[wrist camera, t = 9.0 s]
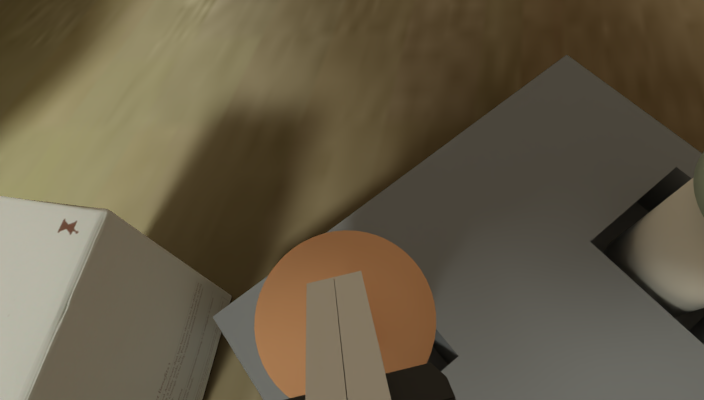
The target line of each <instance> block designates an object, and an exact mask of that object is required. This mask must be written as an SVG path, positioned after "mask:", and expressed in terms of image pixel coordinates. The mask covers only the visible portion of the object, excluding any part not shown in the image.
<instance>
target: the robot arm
mask: <svg viewBox="0 0 704 400" xmlns="http://www.w3.org/2000/svg"><path fill="white" fill-rule="evenodd" d="M334 280H335V281H334ZM285 400H456V398H455V395H454V393H453V391H452V388H451V386H450V383H449V381H448V379H447V377H446V376H445V375H444V374H443V373H442V372H441V371H439V370H438V369H437V368H436V367H435V366H434V365H433V364H432V363H427V364H423V365H418V366H414V367H410V368H406V369H402V370H398V371H394V372H390V373H385V369H384V365H383V360H382V356H381V352H380V348H379V343H378V339H377V335H376V331H375V327H374V322H373V318H372V314H371V310H370V306H369V302H368V297H367V293H366V289H365V285H364V281H363V276H362V272H361V271H357V272H353V273H349V274H345V275H341V276H336V277H332V278H328V279H324V280H320V281H315V282H311V283H307V292H306V386H305V395H301V396H297V397H293V398H289V399H285Z"/></svg>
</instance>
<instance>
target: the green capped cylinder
mask: <svg viewBox="0 0 704 400" xmlns="http://www.w3.org/2000/svg"><path fill="white" fill-rule="evenodd" d="M604 255H606V256H607V257H608V258H609V259H610V260H611V261H612V262H613V263H614V264H616V265H617V266H618V267H619V268H620V269H621V270H622V271H623V272H624V273H625V274H627V275H628V276H629V277H630V278H631V279H632V280H633V281H634V282H635V283H636V284H638V285H639V286H640V287H641V288H642V289H643V290H644V291H645V292H646V293H647V294H649V295H650V296H651V297H652V298H653V299H654V300H655V301H656V302H657V303H658V304H660V305H661V306H662V307H663V308H664V309H665V310H666V311H667V312H668V313H670V314H671V315H672V316H673V317H674V318H675V317H678V316H681V315H684V314H687V313H690V312H693V311H696V310H699V309H701V308H704V152H703V153H702V155H701V156H700V158H699V160H698V162H697V164H696V167H695V171H694V177H693V178H692V179H691V180H690V181H688V182H687V183H686V184H685V185H683V186H682V187H681V188H679V189H678V190H677V191H676V192H674V193H673V194H672V195H671V196H669V197H668V198H667V199H666V200H664V201H663V202H662V203H660V204H659V205H658V206H657V207H655V208H654V209H653V210H652V211H650V212H649V213H648V214H646V215H645V216H644V217H643V218H641V219H640V220H639V221H638V222H636V223H635V224H634V225H632V226H631V227H630V228H629V229H627V230H626V231H625V232H624V233H622V234H621V235H620V236H618V237H617V238H616V239H615V240H613V241H612V242H611V243H610V244H609V245H608V247H607V248H606V250H605V252H604Z"/></svg>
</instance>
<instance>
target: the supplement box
mask: <svg viewBox="0 0 704 400" xmlns="http://www.w3.org/2000/svg"><path fill="white" fill-rule="evenodd" d="M231 297H232V296H231V295H230V294H228V293H227V292H226V291H224V290H223V289H221V288H220V287H218V286H217V285H215V284H214V283H212V282H211V281H210V280H208V279H207V278H205V277H204V276H203V275H201V274H200V273H198V272H197V271H195V270H194V269H192V268H191V267H190V266H188V265H187V264H185V263H184V262H182V261H181V260H180V259H178V258H177V257H175V256H174V255H172V254H171V253H170V252H168V251H167V250H165V249H164V248H162V247H161V246H160V245H158V244H157V243H155V242H154V241H153V240H151V239H150V238H148V237H147V236H145V235H144V234H142V233H141V232H140V231H138V230H137V229H135V228H134V227H132V226H131V225H130V224H128V223H127V222H125V221H124V220H123V219H121V218H120V217H118V216H117V215H116V214H114V213H113V212H111V211H110V210H108V209H102V208H93V207H84V206H76V205H67V204H59V203H51V202H43V201H35V200H26V199H19V198H12V197H5V196H0V400H202V399H203V396H204V392H205V389H206V385H207V382H208V378H209V375H210V371H211V368H212V364H213V361H214V357H215V354H216V350H217V347H218V343H219V340H220V336H221V330H220V328H219V327H218V325H217V324H216V322H215V320H214V319H213V316H214V315H216V314H217V313H218V312H220V311H221V310H222V309H224V308H225V307H226V306H228V305H229V304H230V301H231Z"/></svg>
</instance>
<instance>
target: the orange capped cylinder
mask: <svg viewBox="0 0 704 400" xmlns="http://www.w3.org/2000/svg"><path fill="white" fill-rule="evenodd" d="M357 271H361V272H362V276H363V281H364V285H365V289H366V293H367V297H368V302H369V306H370V310H371V314H372V318H373V322H374V327H375V331H376V335H377V339H378V343H379V348H380V352H381V356H382V360H383V365H384V369H385V373H390V372H394V371H398V370H402V369H406V368H410V367H414V366H418V365H423V364H427V361H428V359H429V356H430V354H431V351H432V348H433V344H434V340H435V332H436V310H435V303H434V299H433V295H432V292H431V289H430V287H429V284H428V282H427V279H426V278H425V276H424V274H423V273H422V271H421V269H420V268H419V267H418V265H417V264H416V263H415V261H414V260H413V259H412V258H411V257H410V256H409V255H408V254H407V253H406V252H405V251H403V250H402V249H401V248H399V247H398V246H397V245H395V244H393V243H392V242H390V241H388V240H386V239H384V238H382V237H379V236H377V235H374V234H370V233H367V232H361V231H349V230H343V231H333V232H328V233H324V234H321V235H318V236H315V237H312V238H310V239H308V240H306V241H304V242H302V243H301V244H299V245H297V246H296V247H294V248H293V249H292V250H290V251H289V252H288V253H287V254H286V255H284V257H283V258H282V259H281V260H280V261H279V262H278V263H277V264H276V265H275V267H274V268H273V269H272V271H271V272H270V274H269V275H268V277H267V279H266V281H265V282H264V285H263V287H262V289H261V292H260V294H259V298H258V301H257V305H256V311H255V321H254V331H255V341H256V345H257V349H258V353H259V356H260V359H261V361H262V364H263V366H264V368H265V370H266V371H267V373H268V375H269V376H270V378H271V379H272V381H273V382H274V383H275V385H276V386H277V387H278V388H279V389H280V390H281V391H282V392H283V393H284V394H285V395H286V396H288V397H289V398H293V397H297V396H301V395H305V386H306V292H307V283H311V282H315V281H320V280H324V279H328V278H332V277H336V276H341V275H345V274H349V273H353V272H357ZM334 281H335V280H334Z"/></svg>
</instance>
